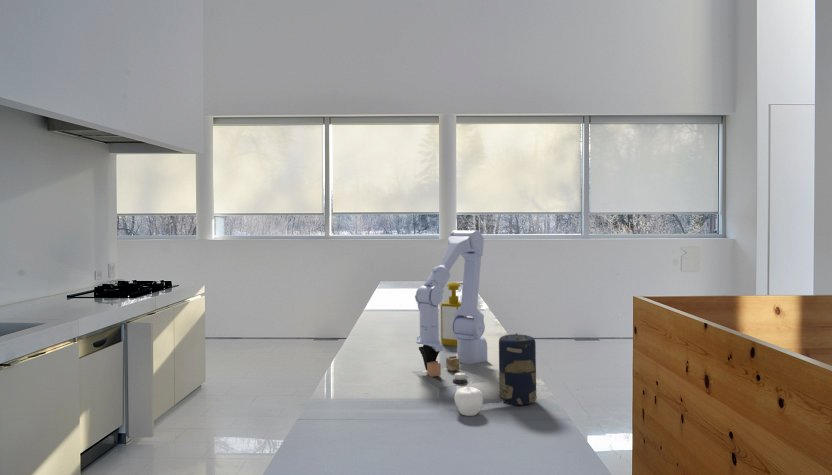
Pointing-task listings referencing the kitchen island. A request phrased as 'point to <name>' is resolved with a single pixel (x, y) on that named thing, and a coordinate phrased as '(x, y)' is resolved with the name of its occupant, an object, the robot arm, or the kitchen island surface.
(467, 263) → the robot arm
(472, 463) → the kitchen island surface
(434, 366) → the terracotta knob
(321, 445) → the kitchen island surface
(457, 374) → the button
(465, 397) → the plain white apple
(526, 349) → the canister
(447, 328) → the soap bottle
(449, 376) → the panel
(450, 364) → the oak knob
